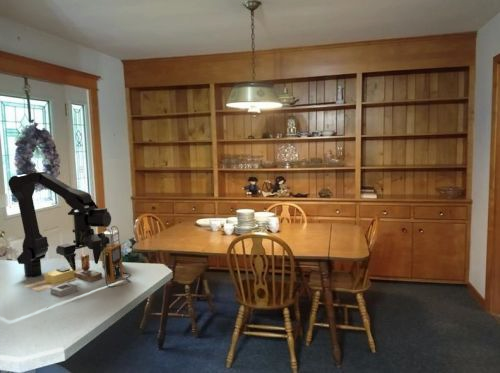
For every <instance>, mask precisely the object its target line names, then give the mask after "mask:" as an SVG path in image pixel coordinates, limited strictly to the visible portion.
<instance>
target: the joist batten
mask: <svg viewBox="0 0 500 373" xmlns="http://www.w3.org/2000/svg"><path fill="white" fill-rule="evenodd" d="M74 274H75V277H77V278H78V279H80V280H83V281H87V282H93V281H96V280H98V279H102V278H103V274H102V272H99V271H95V270H92V269H89V273H87V274H84V272H83V270H82V266H76V270H75V271H74Z"/></svg>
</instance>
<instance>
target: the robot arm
mask: <svg viewBox="0 0 500 373" xmlns="http://www.w3.org/2000/svg"><path fill="white" fill-rule="evenodd" d="M7 183H8V186H9V189H10V192H11V194H12V195H13V196H14V197H15V198H16V199H17V204H18V208H19V212H20V217H21V222H22V227H23V232H24V239H23V242H22V246H21V247H22V252H21V253H20V254H19V255H18V257H17V258H16V260H17V263H18V264H19V265H23V269H24V270H23V271H24V277H26V278H36V277H40V276H42V262H41V260H42V259H44V258H46V255H47V252H48V251H49V247H50V245H49V242H48V237H47V236H43V235H42V234H41V232H40V229H39V223H38V220H37V214H36V209H35V203H34V198H33V195H34V192H35V190H36V187H35V186H36V185H37V184H39V185H41V186H43V187H45V188H46V189H48V190H49V191H51V192H53V193H54V194H56V195H57V196H59V197H62V199H64V201H65V203H66V204H67V205H68V206H69V207H70V208H71V209H70V211H68V212H67V215H68V216H73V226H74V227H73V228H74V229H72V233H74V239H73V241H72V242H73V244H70V243H64V244H59V245H57V246H56V248H55V250H56V251H55V253H56V254H58V255H60V256H63V257H64V258H65V260H66V261H67V263H68V264H69V266H70V269H73V271H75V270H76V267H77V265H76V256H77V253H76V250H78V249H79V250H80V249H83V248H86V247H87V248H88V249H89V250H92V255H93V261H94V264H95V265H99V261H100V257H101V255H102V236H103V249H104V247H106V246H107V244H110V239H109V238H108V237H107V236H105V234H103V233H102V232H99V233H95V230H94V228H97V227H98V228H109V227H110V225H111V223H112V215H111V213H110V212H109V211H108V208H99V207H98V204H96V202H95V201H94V199H93V198H92V195H91V194H90V193H89V192H86V191H84V190H81V189H77V188H74V187H72V186H69V185H68V184H66V183H65V182H63V181H61V180H60V179H58V178H56V177H54V175H51V174H49V173H48V172H47V171H46V170H39V171H33V172H31V173H28V174H19V175H13V176H11V177H10V178H9V180H8V182H7ZM92 227H93V228H92Z"/></svg>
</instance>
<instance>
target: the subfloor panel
mask: <svg viewBox="0 0 500 373" xmlns="http://www.w3.org/2000/svg"><path fill="white" fill-rule="evenodd" d="M77 279H79V278H77V277H75V278H72V279H69V280H66V281H63V282H59V283H56V284H52V283H49V282H46V281H45V279H43V280H39V281H35V282H32V283H29V284H25V285H24V287H25V288H28V289H30V290H33V291H36V292H42V291H45V290H47V289H50V288H52V287H55V286H58V285H61V284H64V283H70V282H71V281H75V280H77Z"/></svg>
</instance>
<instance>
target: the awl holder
mask: <svg viewBox="0 0 500 373" xmlns="http://www.w3.org/2000/svg"><path fill="white" fill-rule="evenodd" d="M49 289H50V294H53V295H55V296H58V297H63V296H66V295H70V294H72V293H75V292H77V291H78V290H79V289H78V285H77V284H74V283H70V282H66V283H63V284H60V285H57V286H54V287H51V288H49Z"/></svg>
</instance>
